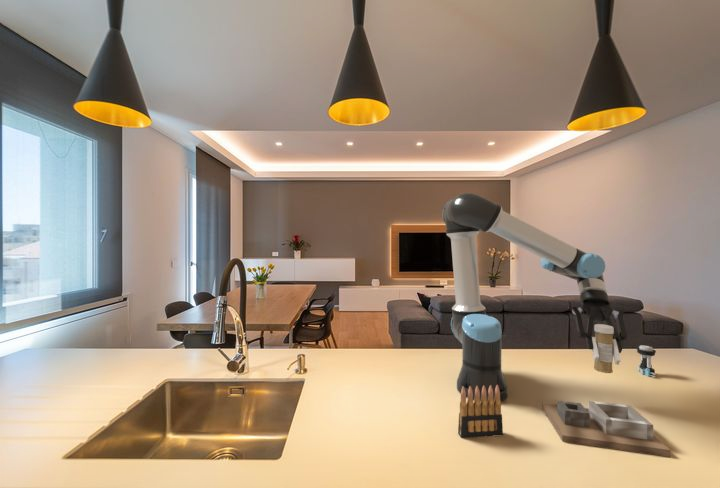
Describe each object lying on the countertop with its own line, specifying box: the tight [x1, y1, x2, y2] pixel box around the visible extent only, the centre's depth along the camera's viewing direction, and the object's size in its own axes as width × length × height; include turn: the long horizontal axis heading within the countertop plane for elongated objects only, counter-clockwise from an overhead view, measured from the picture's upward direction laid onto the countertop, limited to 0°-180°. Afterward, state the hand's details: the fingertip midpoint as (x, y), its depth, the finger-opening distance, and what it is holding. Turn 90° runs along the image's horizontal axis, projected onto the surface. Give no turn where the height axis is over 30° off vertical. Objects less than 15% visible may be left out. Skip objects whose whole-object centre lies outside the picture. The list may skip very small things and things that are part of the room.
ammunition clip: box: [457, 385, 504, 439], centre depth 78 cm, size 11×2×12 cm, turn 96°
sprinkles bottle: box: [593, 323, 615, 374], centre depth 94 cm, size 5×5×14 cm
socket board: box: [541, 400, 671, 458], centre depth 80 cm, size 21×16×5 cm
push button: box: [635, 344, 657, 378], centre depth 115 cm, size 7×5×10 cm
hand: (607, 360), depth 90 cm, fingers closed on sprinkles bottle, 4 cm apart
